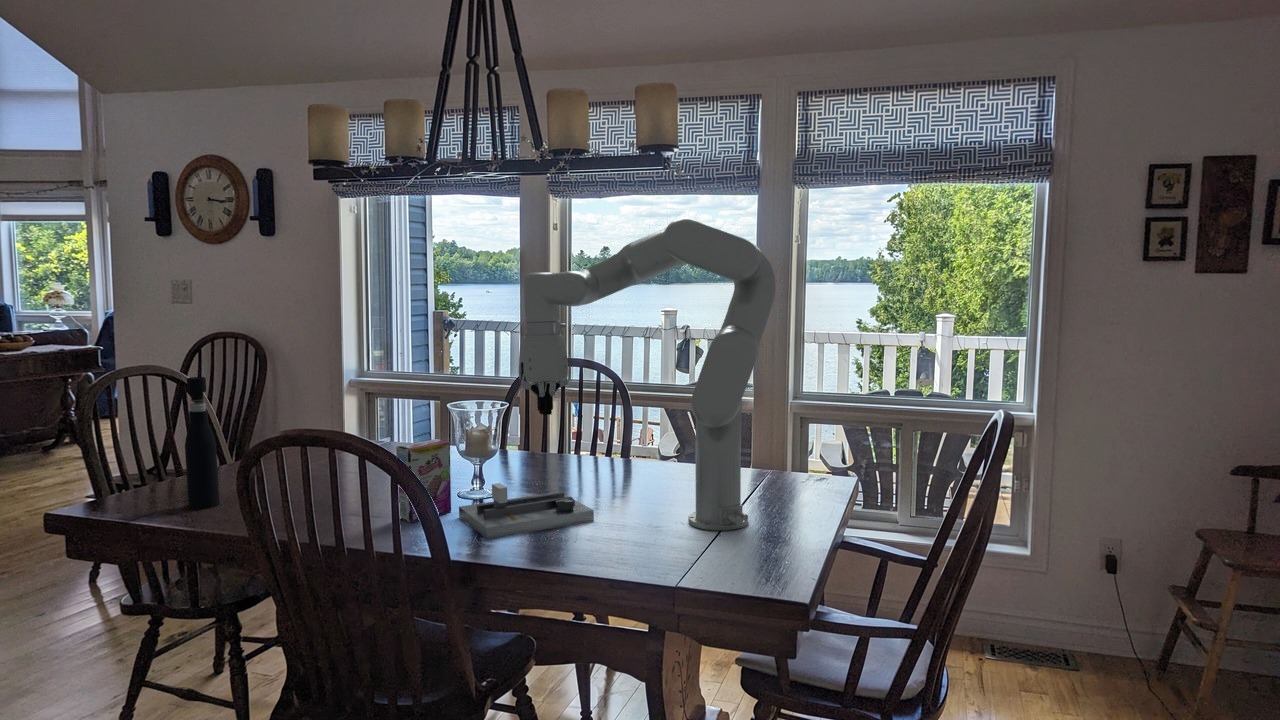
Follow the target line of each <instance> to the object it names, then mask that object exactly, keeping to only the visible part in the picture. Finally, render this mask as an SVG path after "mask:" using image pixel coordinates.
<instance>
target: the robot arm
mask: <svg viewBox="0 0 1280 720" xmlns="http://www.w3.org/2000/svg"><path fill="white" fill-rule="evenodd" d="M687 264H688V265H689V266H692V267H695V268H698V269H700V270H702V271H705V272H709V273H711V274H714V275H716V276H719V277H722V278H725V279H728V280H730V281H733V284H734V289H733V294H732V296H731V299H730V302H729V305H728V307H727V312H726V314H725V318H724V320H723V323H722V324H721V328H720V330H719V331H718V333H717V334H716V335H715V336H714V338H713V339H712V341H711V342H710V345H709V348H708V350H707V353H706V356H705V359H704V361H703V364H702V366H701V369H700V372H699V375H698V378H697V380H696V383H695V387H694V389H693V391H692V395H691V400H690V407H691V408H690V409H691V411H692V414H693V416H694V417H695V458H694V459H695V511H694V512H692V513H689V515H688V524H689V525H691V526H693V527H695V528H697V529H700V530H704V531H705V530H707V531H720V532H721V531H722V532H723V531H732V530H738V529H741V528H744V527H746V526H747V525H748V523H749V515H748V514H747V513H743V508H744V507H743V504H741V501H742V500H741V499H742V498H741V497H742V496H741V494H742V493H741V491H742V489H741V488H742V487H741V479H742V478H741V477H742V476H741V475H742V474H741V471H742V470H741V469H742V468H741V467H742V466H741V464H742V463H741V461H742V460H741V455H742V454H741V453H742V447H741V446H742V412H743V411H742V410H743V408H742V407H743V404H742V403H743V398H744V394H745V392H746V389H747V386H748V383H749V381H750V379H751V375H752V373H753V371H754V367H755V364H756V361H757V358H758V355H759V349H760V345H761V341H762V337H763V334H764V333H765V330H766V327H767V324H768V321H769V317H770V314H771V310H772V308H773V306H774V305H773V304H774V301H775V296H776V289H777V288H776V287H777V286H776V276H775V273H774V269H773V266H772V264H771V263H770V261H769V259H768V258H767V256H766V254H765V253H764V252H763V251H762V250H761V249H760V248H759V247H758V246H757V244H755V243H754V242H752V241H751V240H749V239H747V238H744V237H741V236H738V235H735V234H732V233H729V232H727V231H724V230H721V229H719V228H714V227H712V226H710V225H707V224H705V223H703V222H700V221H698V220H695V219H693V218H689V217H680V218H677V219H674V220H673V221H671V222H670V223H668V225H667V226H666V227H664V228H662V229H660V230H658V231H655V232H653V233H651V234H648V235H647V236H644V237H641V238H639V239H636V240H634V241H631V242H630V243H627V244H626V245H624V246H623V247H622V248H621V249H620V251H618V252H617V253H615V254H614V255H612V256H610V257H608V258H606V259H605V260H602V261H601V262H597V263H595V264H593V265H590V266H589V267H586V268H584V269H581V270H567V271H562V272H552V271H549V272H548V271H547V272H546V271H544V272H543V271H542V272H541V271H539V272H537V271H535V272H528V273H526V274H525V275H524V277H523V298H524V300H523V301H524V304H523V305H524V330H525V336H521V339H520V345H519V353H518V378H519V380H520V386H519V387H520V388H521V389H525V390H529V391H532V393H533V394H534V395H535V396H536V400H537V401H536V403H537V411H538V412H539V414H540V415H542V416H547V415H549V416H550V415H551V416H552V414H553V412H552V411H553V410H554V399H553V398H554V396H555V393H556V392H557V391H558V390H559V388H562V387H564V386H568V385H569V381H568V377H569V362H568V353H567V347H566V342H565V338H564V335H563V334H561V333H562V330H566V329H567V325H566V323H562V321H561V306H565V307H566V306H567V307H579V306H584V305H589V304H592V303H594V302H597V301H599V300H601V299H604V298H606V297H609V296H612V295H613V294H615V293H618V292H621V291H622V290H624V289H627V288H629V287H632V286H636V285H640V284H642V283H644V282H645V281H648V280H650V279H653V278H655V277H659V275H662V274H665V273H667V272H670V271H671V270H674V269H676V268H679V267H682V266H684V265H687ZM544 383H545V387H544Z"/></svg>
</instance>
